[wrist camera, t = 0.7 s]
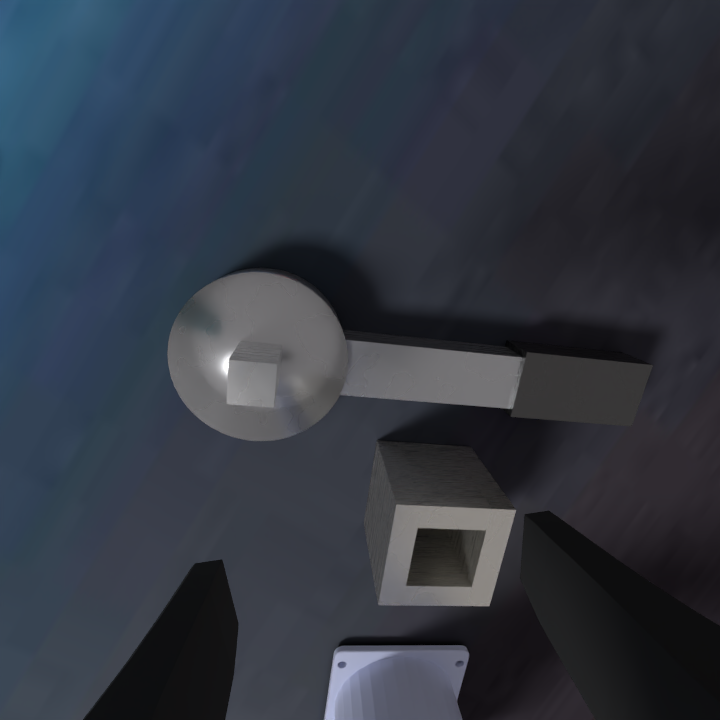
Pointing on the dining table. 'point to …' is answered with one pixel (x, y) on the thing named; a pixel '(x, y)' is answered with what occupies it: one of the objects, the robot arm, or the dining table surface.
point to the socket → (434, 525)
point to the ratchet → (367, 364)
